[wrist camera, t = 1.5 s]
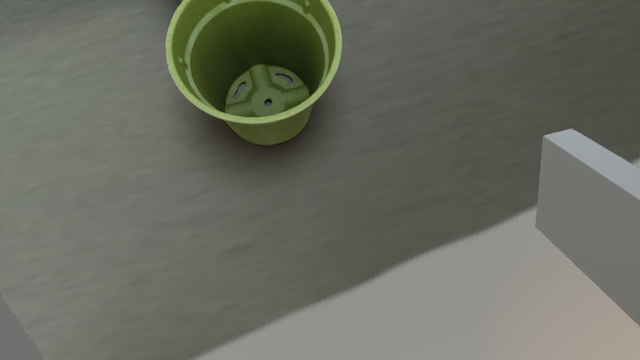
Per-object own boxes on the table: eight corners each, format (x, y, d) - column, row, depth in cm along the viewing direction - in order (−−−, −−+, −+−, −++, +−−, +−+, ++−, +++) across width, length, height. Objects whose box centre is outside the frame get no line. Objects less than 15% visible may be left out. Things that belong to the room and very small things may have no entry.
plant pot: (298, 193, 33) (293, 152, 24) (176, 134, 33) (131, 76, 25) (356, 79, 35) (370, 7, 26) (240, 27, 36) (219, -59, 27)
